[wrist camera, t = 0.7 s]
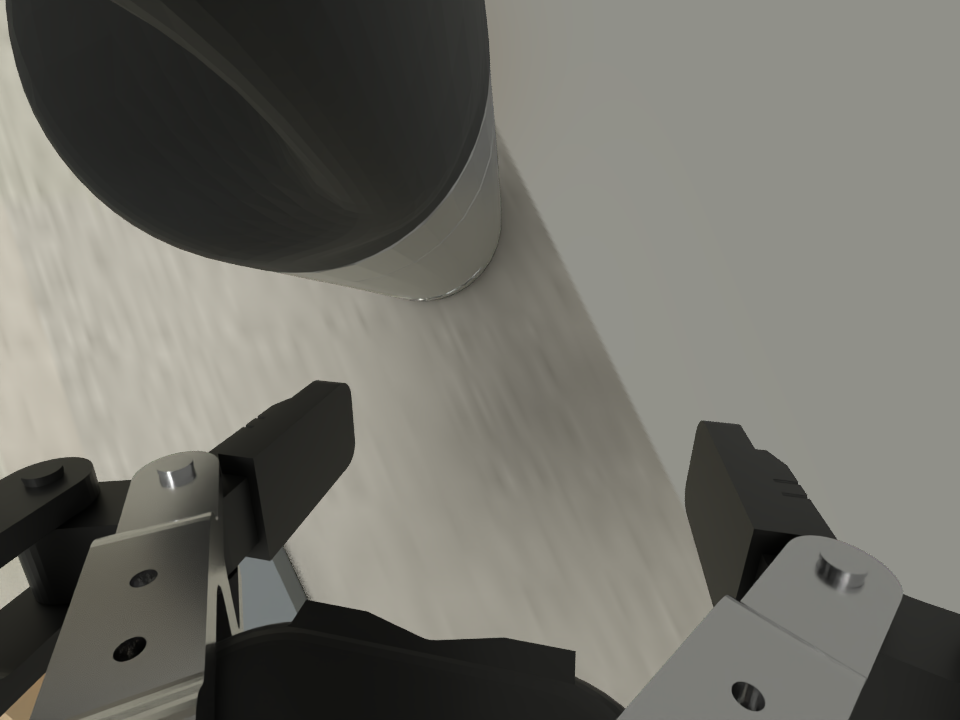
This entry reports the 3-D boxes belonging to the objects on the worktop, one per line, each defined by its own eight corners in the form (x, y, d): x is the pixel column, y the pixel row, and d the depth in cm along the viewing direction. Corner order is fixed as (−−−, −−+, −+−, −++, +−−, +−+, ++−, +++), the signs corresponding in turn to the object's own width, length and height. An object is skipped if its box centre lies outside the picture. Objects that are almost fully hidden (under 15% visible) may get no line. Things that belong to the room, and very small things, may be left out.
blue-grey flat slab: (113, 538, 31) (93, 548, 30) (252, 479, 31) (238, 487, 29) (233, 786, 32) (219, 808, 31) (370, 736, 32) (363, 757, 30)
